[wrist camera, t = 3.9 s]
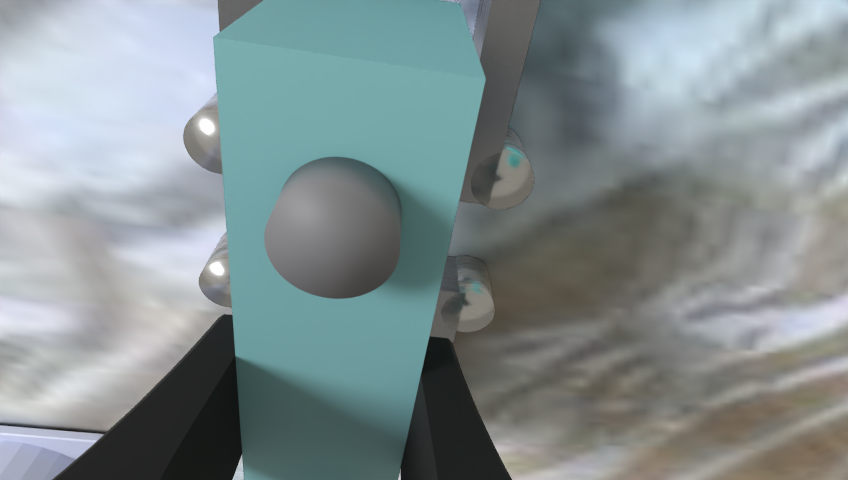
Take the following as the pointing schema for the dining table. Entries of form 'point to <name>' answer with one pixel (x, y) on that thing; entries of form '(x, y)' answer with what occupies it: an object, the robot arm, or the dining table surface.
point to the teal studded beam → (339, 220)
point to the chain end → (456, 305)
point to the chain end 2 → (492, 141)
